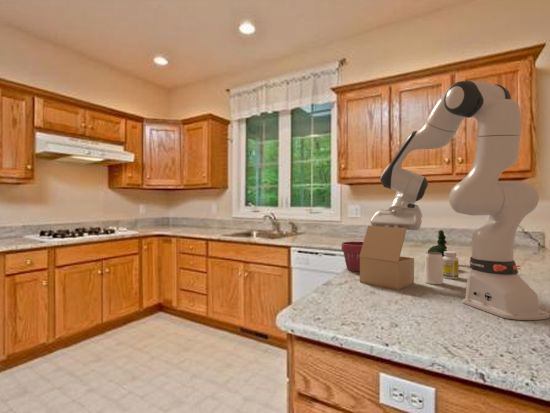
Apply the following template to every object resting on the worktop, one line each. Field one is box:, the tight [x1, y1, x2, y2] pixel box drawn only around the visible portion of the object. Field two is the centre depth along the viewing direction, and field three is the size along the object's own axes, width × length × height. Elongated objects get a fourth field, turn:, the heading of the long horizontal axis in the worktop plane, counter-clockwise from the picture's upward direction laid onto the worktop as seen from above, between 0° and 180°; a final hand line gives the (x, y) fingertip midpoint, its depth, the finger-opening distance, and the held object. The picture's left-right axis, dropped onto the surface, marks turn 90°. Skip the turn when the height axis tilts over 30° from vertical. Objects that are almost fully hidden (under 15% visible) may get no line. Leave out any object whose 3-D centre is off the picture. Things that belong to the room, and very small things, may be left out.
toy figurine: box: [427, 229, 448, 257], centre depth 161 cm, size 9×19×25 cm
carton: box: [359, 255, 415, 290], centre depth 130 cm, size 14×16×10 cm
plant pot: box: [341, 241, 364, 272], centre depth 154 cm, size 14×14×13 cm
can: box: [424, 251, 444, 286], centre depth 129 cm, size 6×6×12 cm
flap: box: [359, 225, 407, 262], centre depth 127 cm, size 14×16×1 cm
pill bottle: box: [443, 250, 459, 280], centre depth 138 cm, size 6×6×11 cm
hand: (389, 235), depth 131 cm, fingers closed
